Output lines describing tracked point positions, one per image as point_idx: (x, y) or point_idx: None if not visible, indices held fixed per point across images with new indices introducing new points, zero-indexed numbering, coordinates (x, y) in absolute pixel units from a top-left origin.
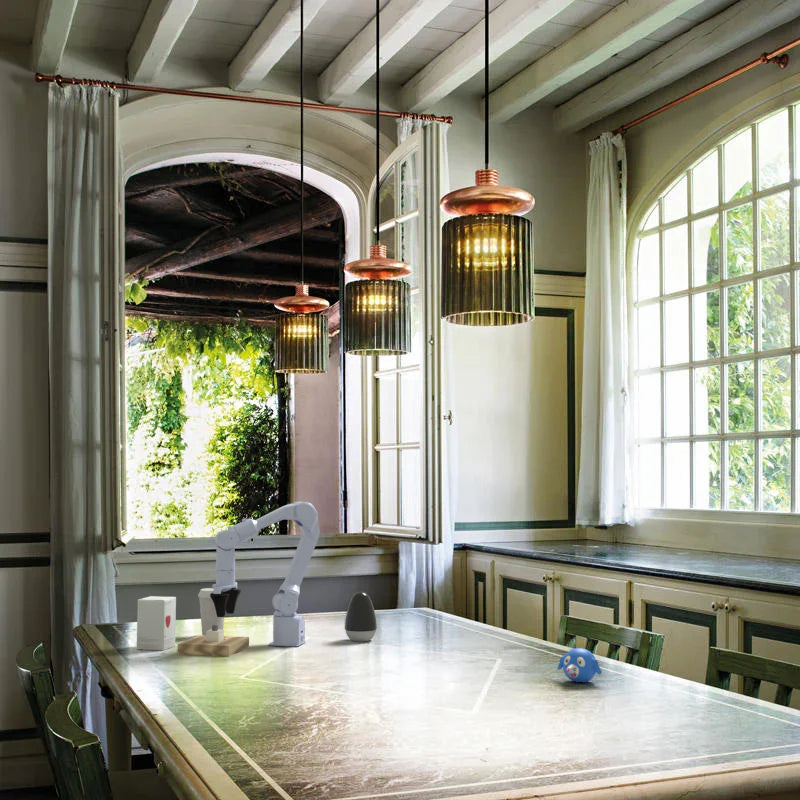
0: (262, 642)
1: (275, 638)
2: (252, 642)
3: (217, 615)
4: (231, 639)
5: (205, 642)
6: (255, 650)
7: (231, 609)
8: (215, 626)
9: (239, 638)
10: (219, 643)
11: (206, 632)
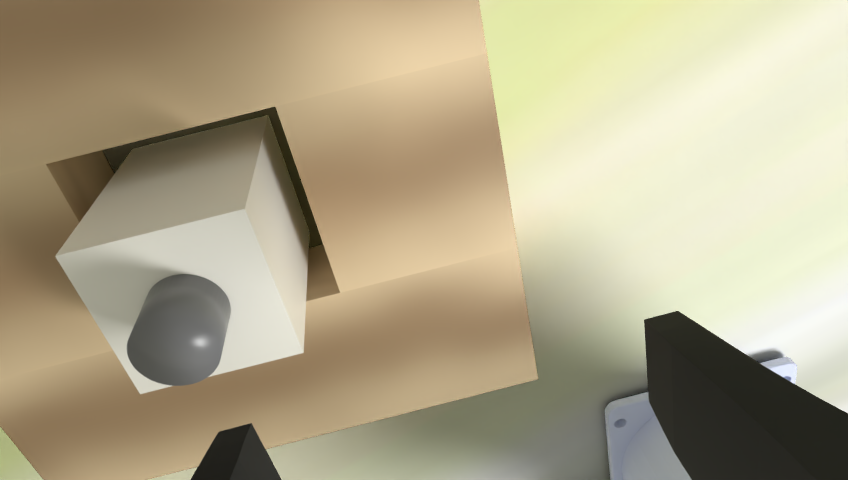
0: (748, 283)
1: (650, 466)
2: (736, 219)
3: (210, 457)
4: (350, 338)
5: (35, 240)
6: (408, 428)
7: (683, 432)
8: (151, 370)
9: (434, 361)
10: (94, 382)
11: (66, 253)
